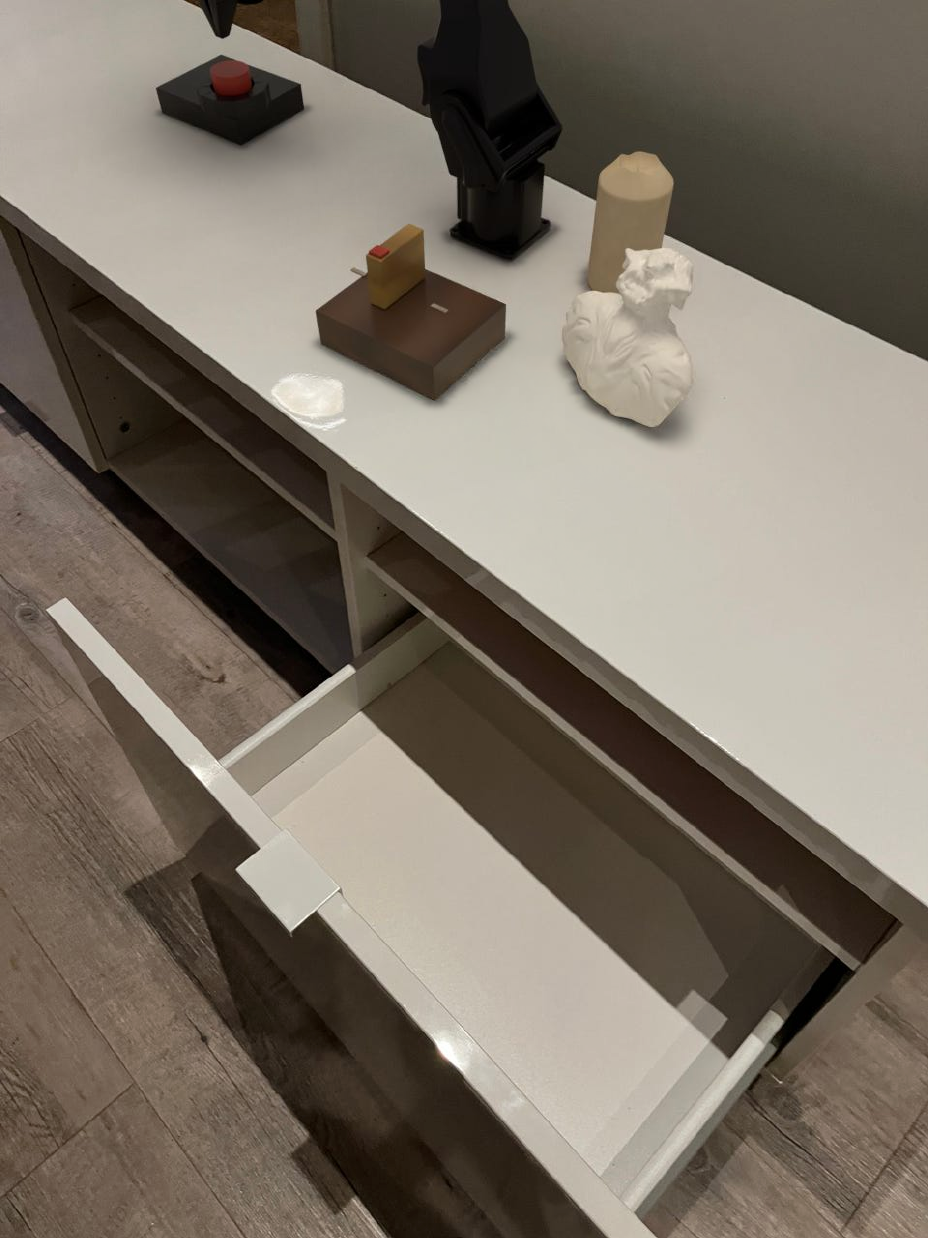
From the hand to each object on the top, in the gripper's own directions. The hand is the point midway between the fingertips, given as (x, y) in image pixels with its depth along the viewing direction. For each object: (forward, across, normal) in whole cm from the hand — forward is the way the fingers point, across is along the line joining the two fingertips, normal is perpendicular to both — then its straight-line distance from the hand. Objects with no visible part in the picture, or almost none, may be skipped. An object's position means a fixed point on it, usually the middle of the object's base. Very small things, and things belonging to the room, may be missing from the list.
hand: (223, 36), depth 84 cm
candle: (+8, +43, 0) cm, 44 cm away
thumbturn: (+5, +32, -15) cm, 36 cm away
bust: (+8, +50, -11) cm, 52 cm away
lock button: (+4, 0, 0) cm, 4 cm away
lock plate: (+8, +34, -16) cm, 38 cm away
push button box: (+8, -3, +2) cm, 9 cm away
